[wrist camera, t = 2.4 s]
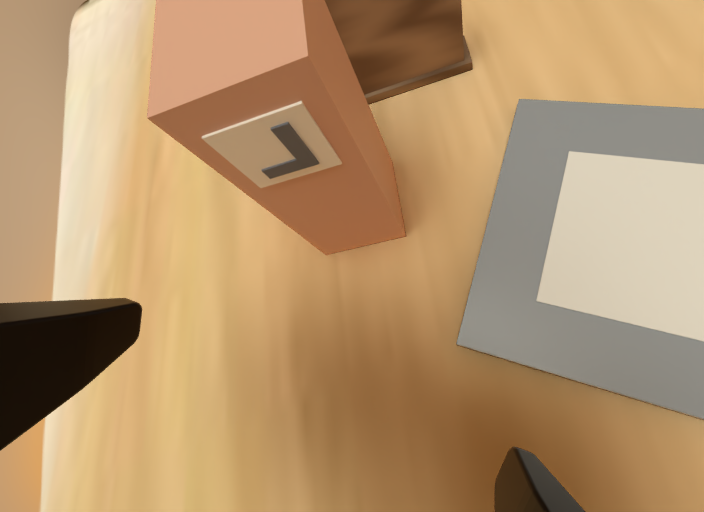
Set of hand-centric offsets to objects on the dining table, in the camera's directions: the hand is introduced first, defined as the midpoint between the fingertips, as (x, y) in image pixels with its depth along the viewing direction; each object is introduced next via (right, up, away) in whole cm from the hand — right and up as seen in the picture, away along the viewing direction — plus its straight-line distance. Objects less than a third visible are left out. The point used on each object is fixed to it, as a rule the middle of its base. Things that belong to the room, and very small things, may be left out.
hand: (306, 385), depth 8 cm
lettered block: (+2, +6, +15) cm, 16 cm away
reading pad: (+15, +3, +9) cm, 18 cm away
